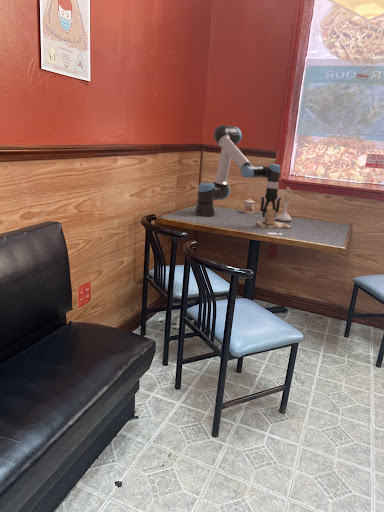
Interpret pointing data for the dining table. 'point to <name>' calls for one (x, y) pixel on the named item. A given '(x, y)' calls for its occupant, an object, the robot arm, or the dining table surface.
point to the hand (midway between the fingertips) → (268, 221)
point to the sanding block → (269, 216)
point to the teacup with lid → (249, 206)
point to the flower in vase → (285, 209)
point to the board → (276, 225)
